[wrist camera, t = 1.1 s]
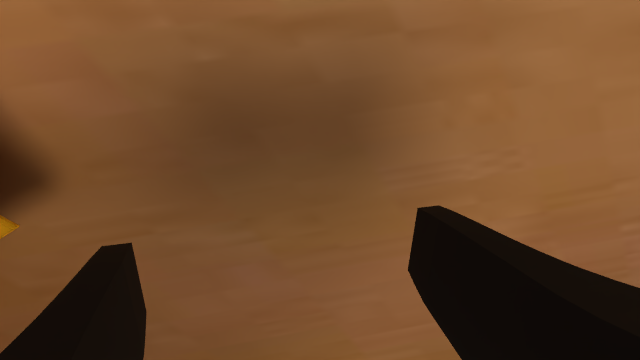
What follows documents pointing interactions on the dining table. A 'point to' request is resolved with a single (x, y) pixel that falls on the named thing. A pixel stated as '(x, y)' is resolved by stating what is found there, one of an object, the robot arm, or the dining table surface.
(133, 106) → the dining table surface
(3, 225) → the hamburger
